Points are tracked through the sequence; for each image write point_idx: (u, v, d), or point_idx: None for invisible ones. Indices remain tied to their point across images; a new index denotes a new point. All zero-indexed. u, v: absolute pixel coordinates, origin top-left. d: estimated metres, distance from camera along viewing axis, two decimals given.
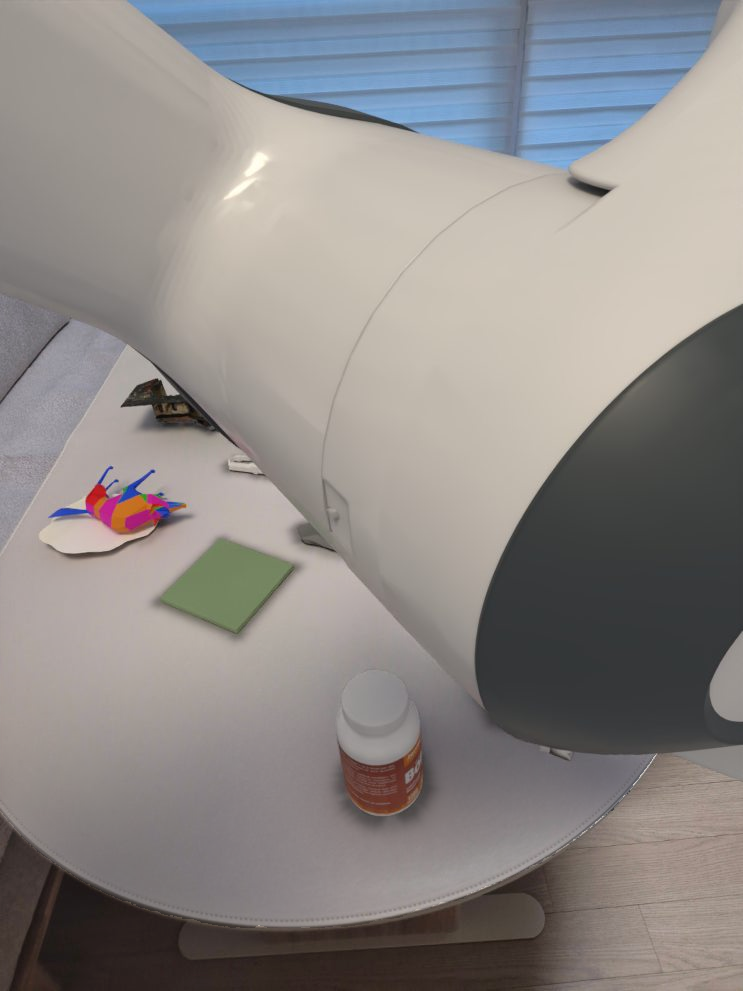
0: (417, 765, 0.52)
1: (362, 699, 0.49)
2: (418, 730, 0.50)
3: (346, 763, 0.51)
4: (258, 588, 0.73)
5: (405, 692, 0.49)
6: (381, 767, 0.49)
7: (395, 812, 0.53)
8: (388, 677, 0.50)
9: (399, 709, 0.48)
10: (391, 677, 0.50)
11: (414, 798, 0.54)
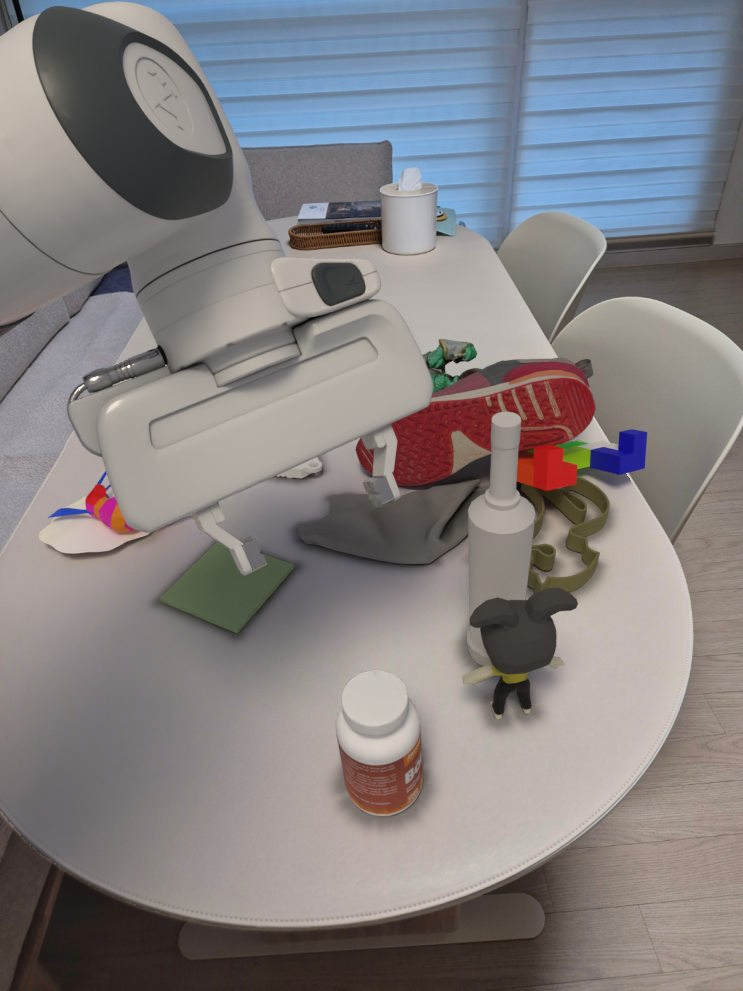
0: (417, 765, 0.52)
1: (362, 699, 0.49)
2: (418, 730, 0.50)
3: (346, 763, 0.51)
4: (258, 588, 0.73)
5: (405, 692, 0.49)
6: (381, 767, 0.49)
7: (395, 812, 0.53)
8: (388, 677, 0.50)
9: (399, 709, 0.48)
10: (391, 677, 0.50)
11: (414, 798, 0.54)
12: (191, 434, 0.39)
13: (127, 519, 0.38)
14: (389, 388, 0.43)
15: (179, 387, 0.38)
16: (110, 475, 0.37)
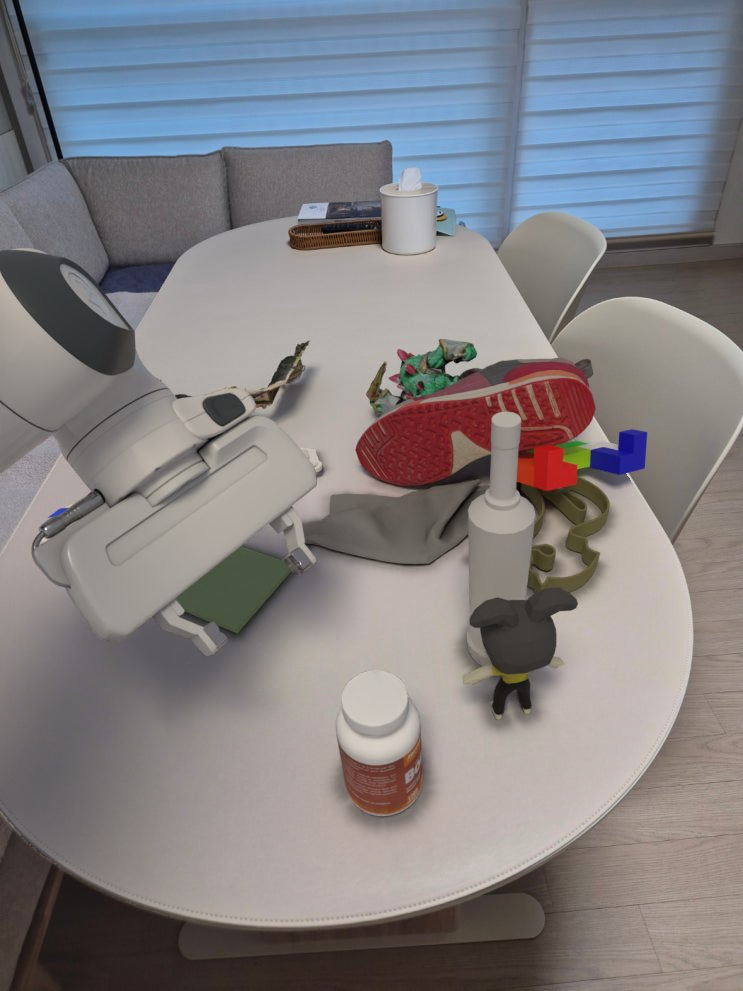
0: (417, 765, 0.52)
1: (362, 699, 0.49)
2: (418, 730, 0.50)
3: (346, 763, 0.51)
4: (258, 588, 0.73)
5: (405, 692, 0.49)
6: (381, 767, 0.49)
7: (395, 812, 0.53)
8: (388, 677, 0.50)
9: (399, 709, 0.48)
10: (391, 677, 0.50)
11: (414, 798, 0.54)
12: (140, 548, 0.47)
13: (106, 629, 0.45)
14: (283, 478, 0.54)
15: (122, 514, 0.47)
16: (83, 596, 0.44)
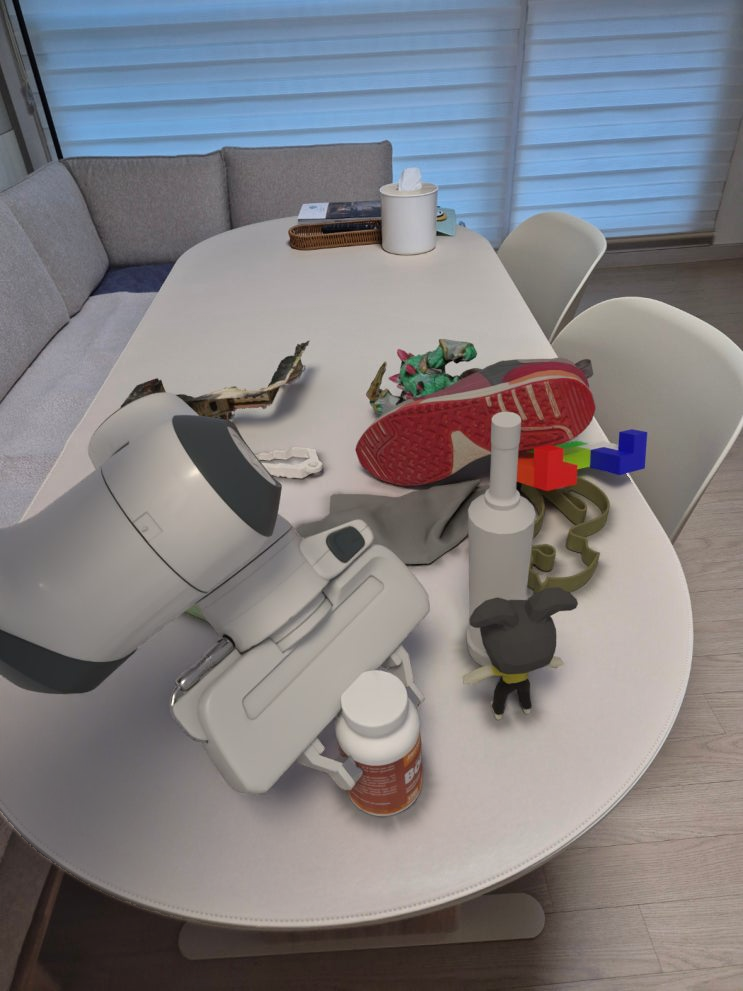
0: (417, 765, 0.52)
1: (362, 700, 0.49)
2: (418, 730, 0.50)
3: None
4: None
5: (405, 692, 0.49)
6: (381, 767, 0.49)
7: (395, 812, 0.53)
8: (388, 678, 0.50)
9: (399, 710, 0.48)
10: (391, 677, 0.50)
11: (414, 798, 0.54)
12: (273, 698, 0.47)
13: (247, 787, 0.44)
14: (400, 607, 0.54)
15: (255, 663, 0.47)
16: (224, 755, 0.44)
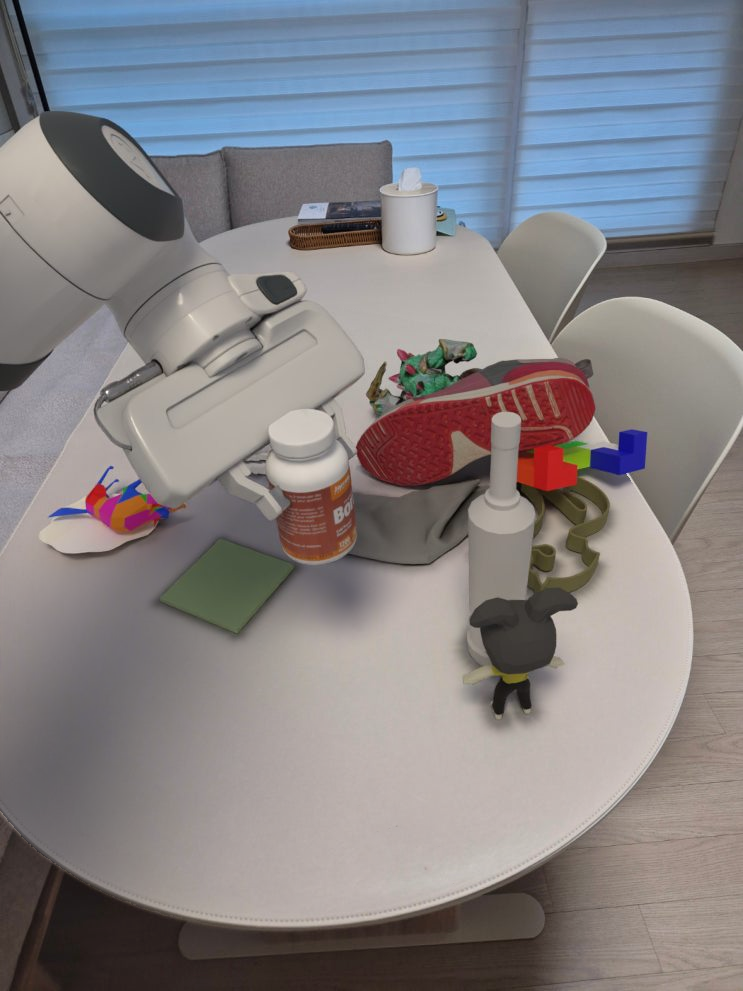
0: (347, 507, 0.53)
1: (288, 428, 0.50)
2: (345, 465, 0.51)
3: None
4: (258, 588, 0.73)
5: (331, 422, 0.50)
6: (308, 495, 0.50)
7: (327, 559, 0.54)
8: (316, 413, 0.51)
9: (323, 433, 0.49)
10: (319, 412, 0.51)
11: (346, 548, 0.54)
12: (199, 416, 0.48)
13: (168, 487, 0.45)
14: (333, 363, 0.55)
15: (181, 381, 0.48)
16: (146, 455, 0.45)
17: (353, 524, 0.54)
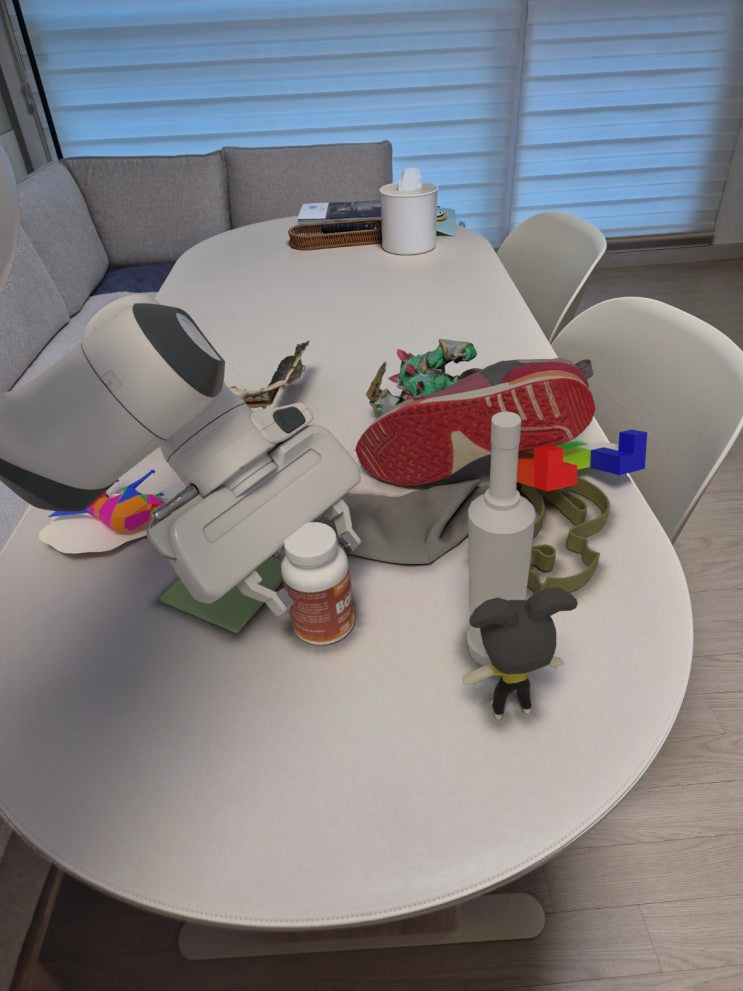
0: (346, 600, 0.65)
1: (300, 541, 0.62)
2: (345, 568, 0.63)
3: (289, 596, 0.64)
4: None
5: (334, 535, 0.62)
6: (315, 594, 0.62)
7: (330, 640, 0.66)
8: (322, 526, 0.63)
9: (328, 546, 0.61)
10: (324, 526, 0.63)
11: (346, 631, 0.67)
12: (228, 530, 0.60)
13: (205, 591, 0.57)
14: (335, 475, 0.67)
15: (214, 502, 0.60)
16: (188, 566, 0.57)
17: (352, 611, 0.67)
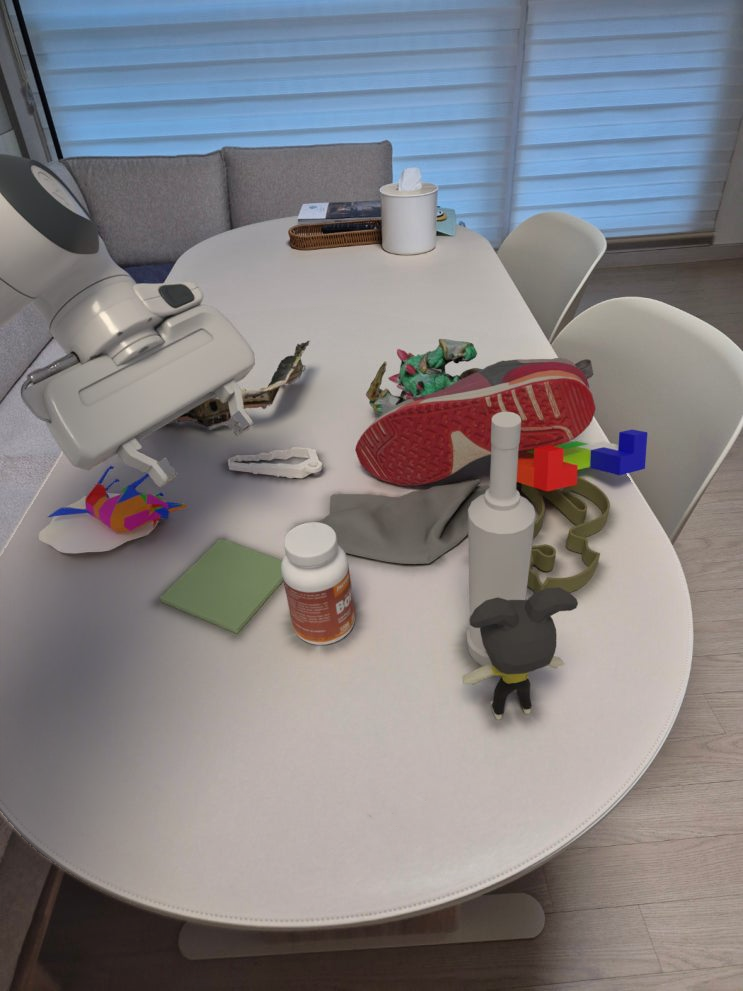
0: (346, 600, 0.65)
1: (300, 541, 0.62)
2: (345, 568, 0.63)
3: (289, 596, 0.64)
4: (258, 588, 0.73)
5: (334, 535, 0.62)
6: (315, 594, 0.62)
7: (330, 640, 0.66)
8: (322, 526, 0.63)
9: (328, 546, 0.61)
10: (324, 526, 0.63)
11: (346, 631, 0.67)
12: (107, 396, 0.60)
13: (78, 451, 0.57)
14: (226, 355, 0.67)
15: (92, 368, 0.60)
16: (61, 425, 0.57)
17: (352, 611, 0.67)
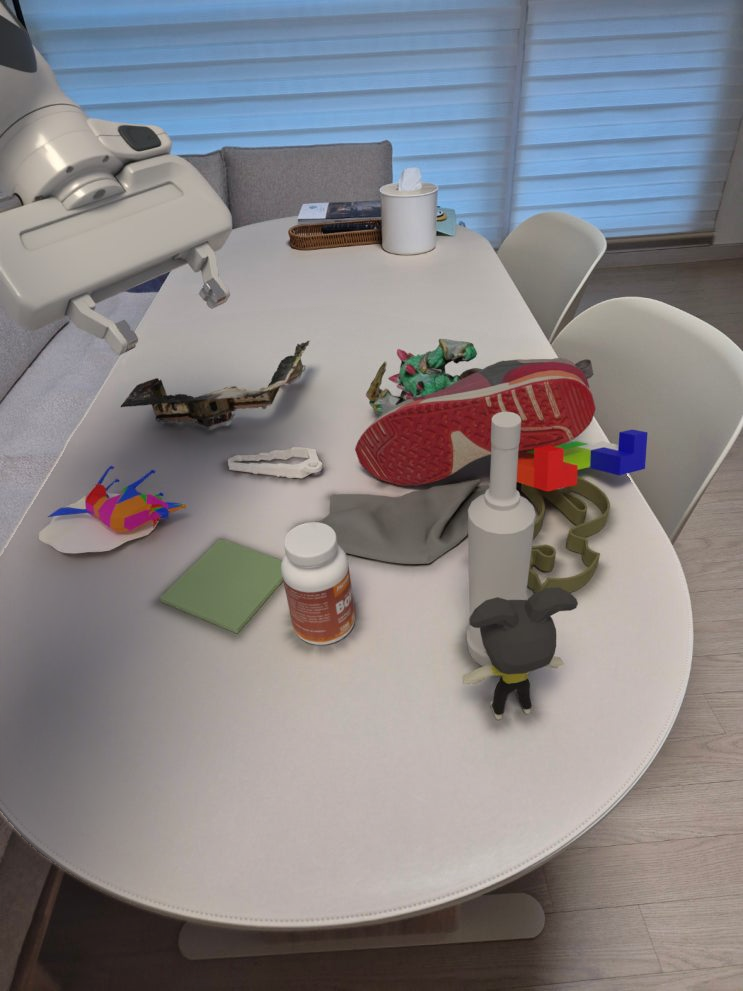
0: (346, 600, 0.65)
1: (300, 541, 0.62)
2: (345, 568, 0.63)
3: (289, 596, 0.64)
4: (258, 588, 0.73)
5: (334, 535, 0.62)
6: (315, 594, 0.62)
7: (330, 640, 0.66)
8: (322, 526, 0.63)
9: (328, 546, 0.61)
10: (324, 526, 0.63)
11: (346, 631, 0.67)
12: (54, 243, 0.51)
13: (17, 300, 0.48)
14: (198, 214, 0.58)
15: (37, 209, 0.51)
16: None
17: (352, 611, 0.67)
